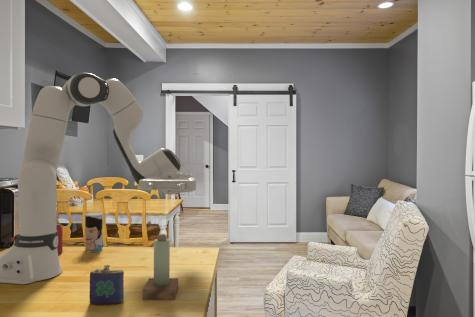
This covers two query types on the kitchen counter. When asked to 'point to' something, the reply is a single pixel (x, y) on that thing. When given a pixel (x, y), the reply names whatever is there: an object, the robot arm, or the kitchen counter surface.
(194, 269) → the kitchen counter surface
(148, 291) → the plinth
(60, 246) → the beer can
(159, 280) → the pepper mill
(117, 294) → the flask
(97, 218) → the cup
